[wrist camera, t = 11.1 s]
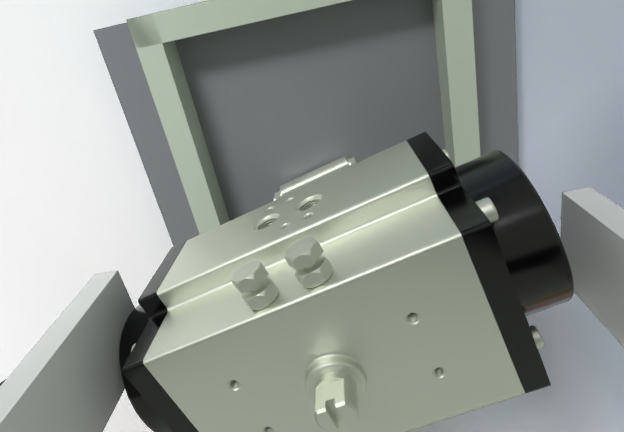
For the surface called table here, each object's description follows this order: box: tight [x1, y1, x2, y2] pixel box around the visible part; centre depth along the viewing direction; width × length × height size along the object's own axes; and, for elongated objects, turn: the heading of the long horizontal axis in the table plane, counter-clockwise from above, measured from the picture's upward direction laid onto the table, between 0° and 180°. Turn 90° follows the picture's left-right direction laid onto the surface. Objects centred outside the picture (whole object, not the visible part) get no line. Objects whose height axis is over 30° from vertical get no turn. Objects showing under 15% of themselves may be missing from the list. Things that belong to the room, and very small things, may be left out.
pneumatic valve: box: [119, 131, 574, 432], centre depth 15 cm, size 6×12×12 cm, turn 116°
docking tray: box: [93, 0, 518, 246], centre depth 20 cm, size 17×16×2 cm
